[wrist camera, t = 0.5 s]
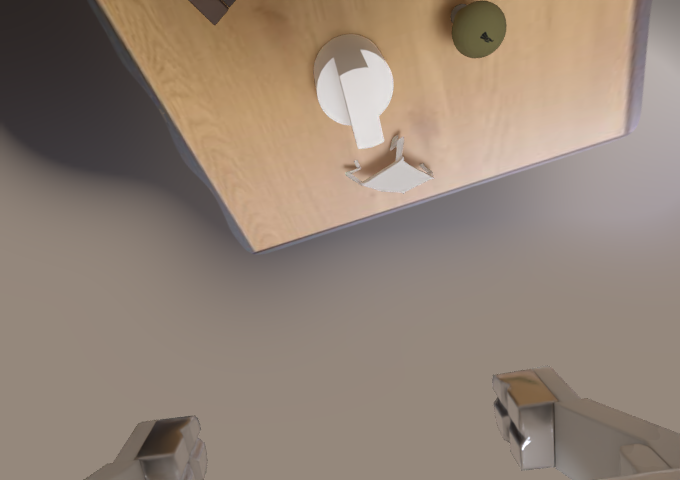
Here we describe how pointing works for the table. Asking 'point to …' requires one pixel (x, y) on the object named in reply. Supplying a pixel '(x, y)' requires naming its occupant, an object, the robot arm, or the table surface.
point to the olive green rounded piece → (477, 28)
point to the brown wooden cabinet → (212, 8)
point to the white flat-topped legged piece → (395, 173)
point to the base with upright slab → (354, 86)
